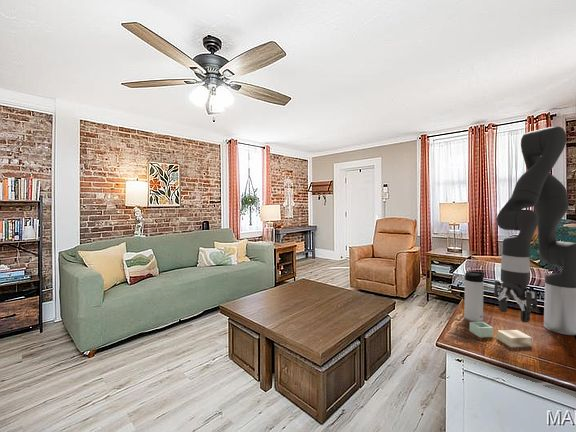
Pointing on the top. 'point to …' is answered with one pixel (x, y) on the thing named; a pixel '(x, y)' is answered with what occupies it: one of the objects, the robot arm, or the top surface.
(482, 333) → the mint green open box
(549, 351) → the top surface
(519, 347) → the mat
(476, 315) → the travel mug
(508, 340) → the lid
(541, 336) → the top surface
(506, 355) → the top surface
